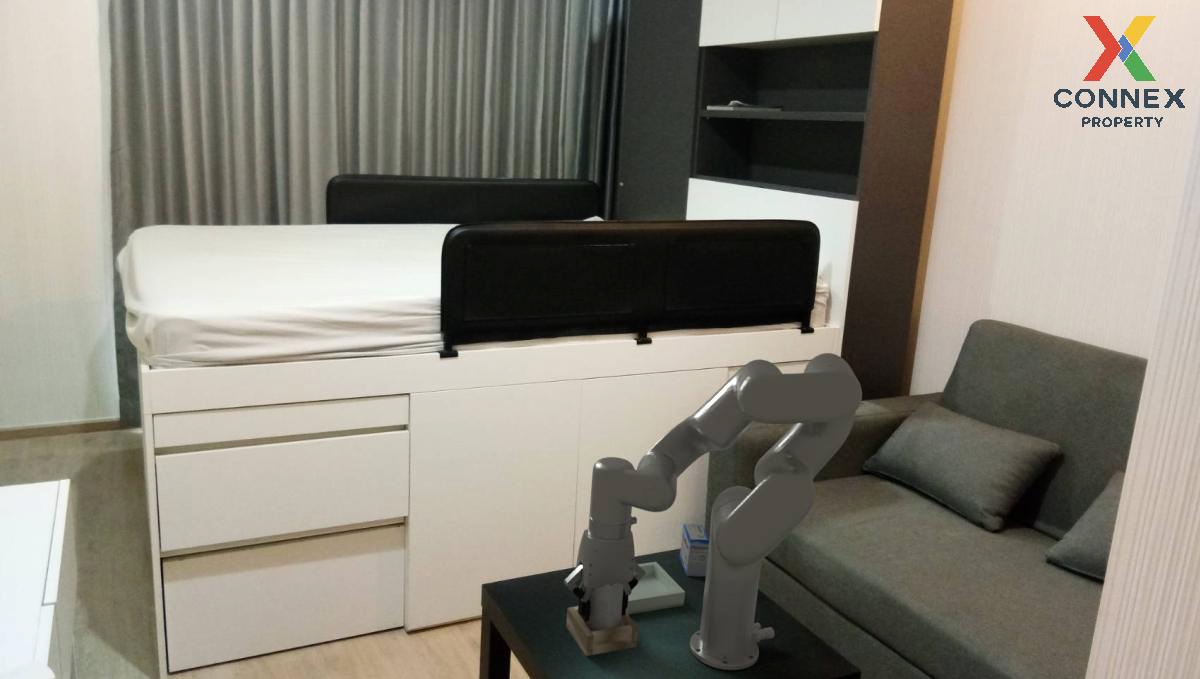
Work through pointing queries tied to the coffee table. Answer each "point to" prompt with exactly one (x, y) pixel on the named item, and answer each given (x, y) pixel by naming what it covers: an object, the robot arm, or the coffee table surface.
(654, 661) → the coffee table surface
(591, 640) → the collar
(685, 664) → the coffee table surface
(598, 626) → the skincare box
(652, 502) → the robot arm
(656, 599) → the tray
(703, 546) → the medicine box
